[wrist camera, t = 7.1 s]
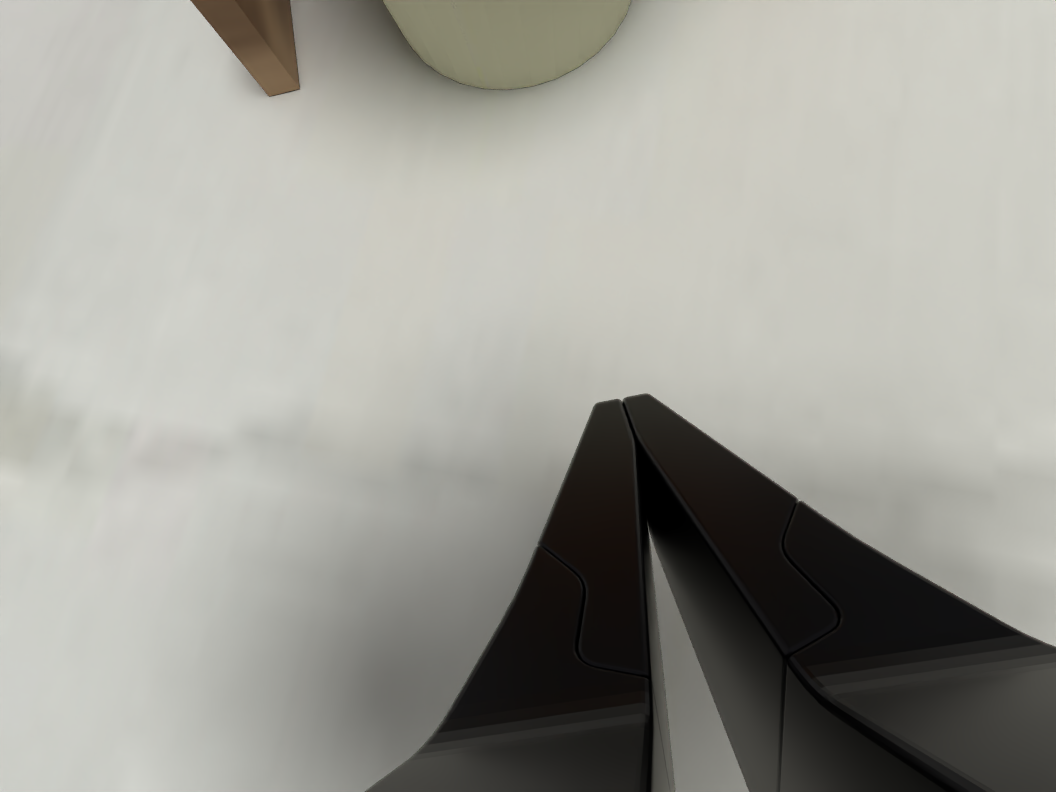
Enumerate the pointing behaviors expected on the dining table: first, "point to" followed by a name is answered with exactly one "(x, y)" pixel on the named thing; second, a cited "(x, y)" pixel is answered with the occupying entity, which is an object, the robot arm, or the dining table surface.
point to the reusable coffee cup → (507, 37)
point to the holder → (257, 38)
